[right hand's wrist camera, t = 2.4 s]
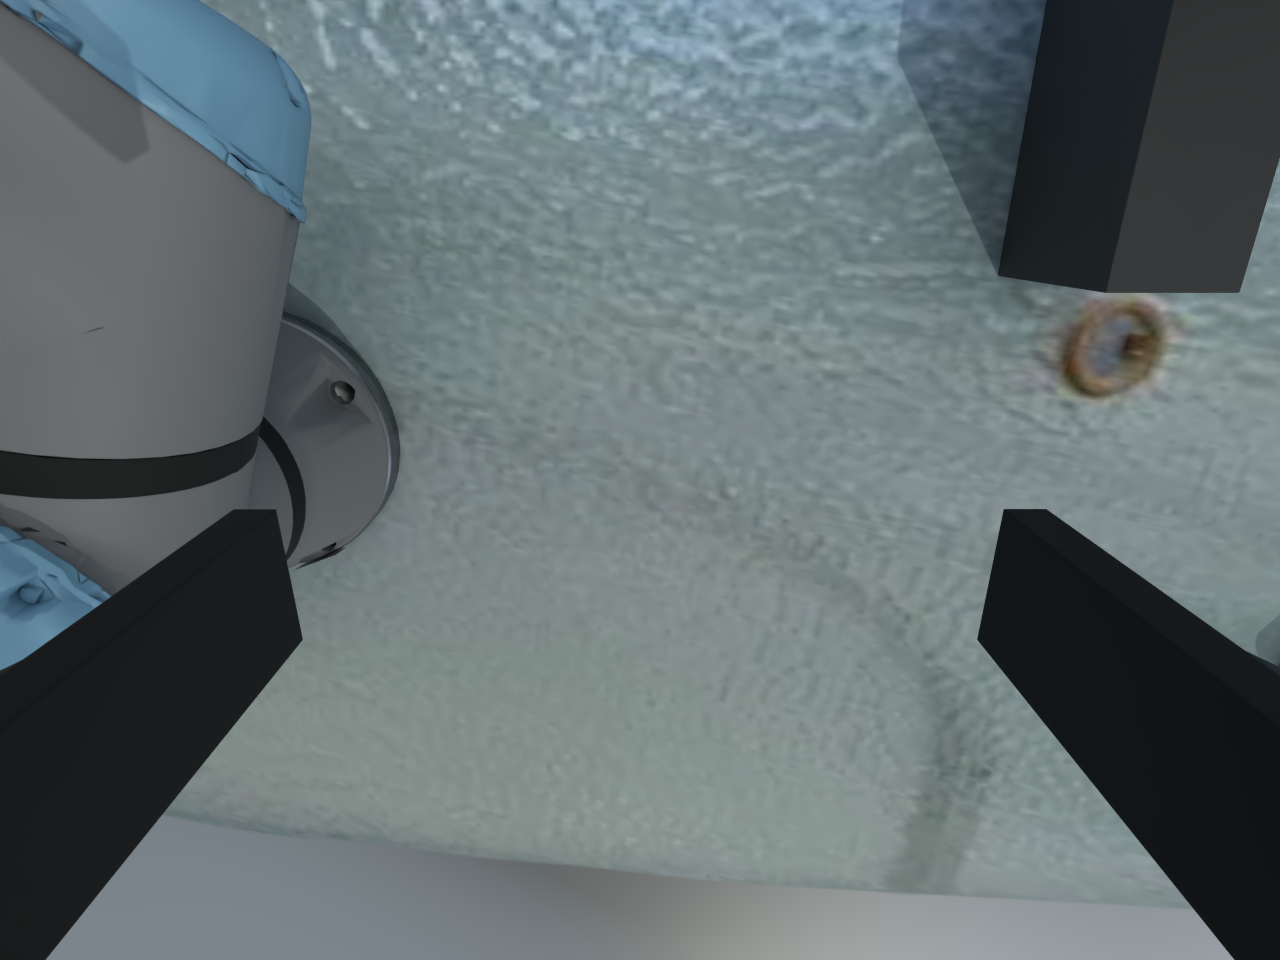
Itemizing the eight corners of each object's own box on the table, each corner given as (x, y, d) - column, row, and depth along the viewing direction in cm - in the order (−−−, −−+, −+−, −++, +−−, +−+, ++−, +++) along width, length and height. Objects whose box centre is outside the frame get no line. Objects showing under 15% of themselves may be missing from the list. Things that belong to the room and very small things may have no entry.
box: (1101, 276, 38) (1239, 293, 29) (997, 276, 38) (1105, 292, 29) (1206, -185, 31) (1431, -345, 22) (1079, -185, 31) (1253, -345, 22)
